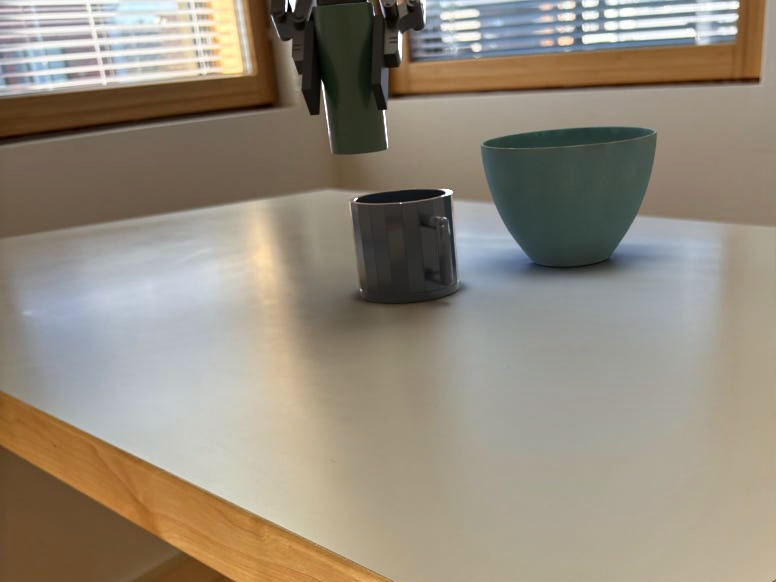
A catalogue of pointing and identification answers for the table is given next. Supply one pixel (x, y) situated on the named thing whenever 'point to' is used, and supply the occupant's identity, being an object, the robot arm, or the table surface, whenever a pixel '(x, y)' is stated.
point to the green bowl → (569, 189)
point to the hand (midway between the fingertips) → (344, 99)
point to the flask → (348, 76)
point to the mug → (405, 244)
